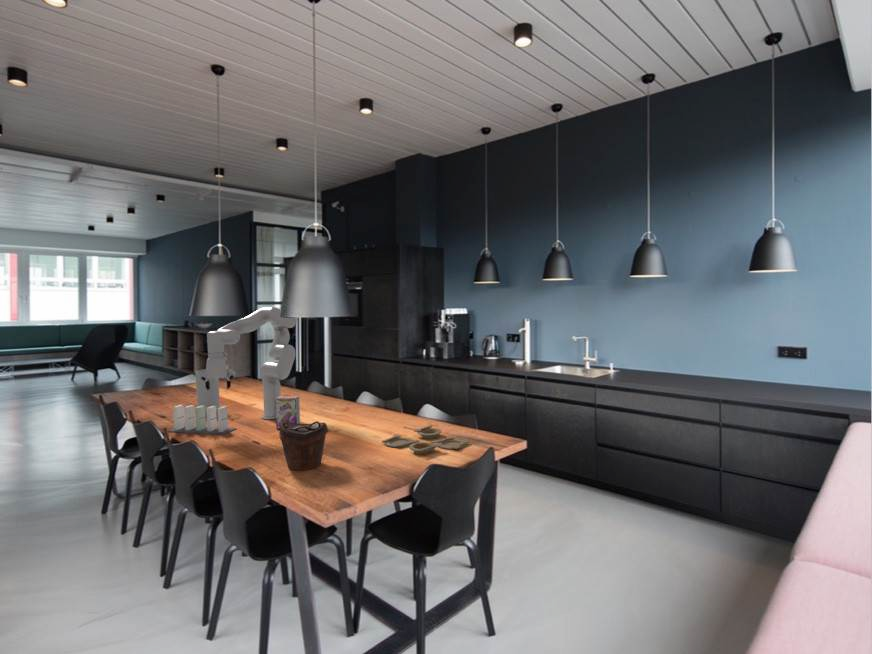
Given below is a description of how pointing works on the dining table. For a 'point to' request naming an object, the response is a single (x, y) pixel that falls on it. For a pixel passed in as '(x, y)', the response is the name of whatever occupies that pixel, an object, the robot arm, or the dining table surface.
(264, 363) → the robot arm
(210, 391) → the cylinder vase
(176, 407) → the domino
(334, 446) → the dining table surface
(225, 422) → the domino
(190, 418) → the domino
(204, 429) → the rubber mat
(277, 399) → the candy bar box
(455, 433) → the dining table surface
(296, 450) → the brown basket
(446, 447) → the tableware set
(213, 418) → the domino
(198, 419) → the domino
